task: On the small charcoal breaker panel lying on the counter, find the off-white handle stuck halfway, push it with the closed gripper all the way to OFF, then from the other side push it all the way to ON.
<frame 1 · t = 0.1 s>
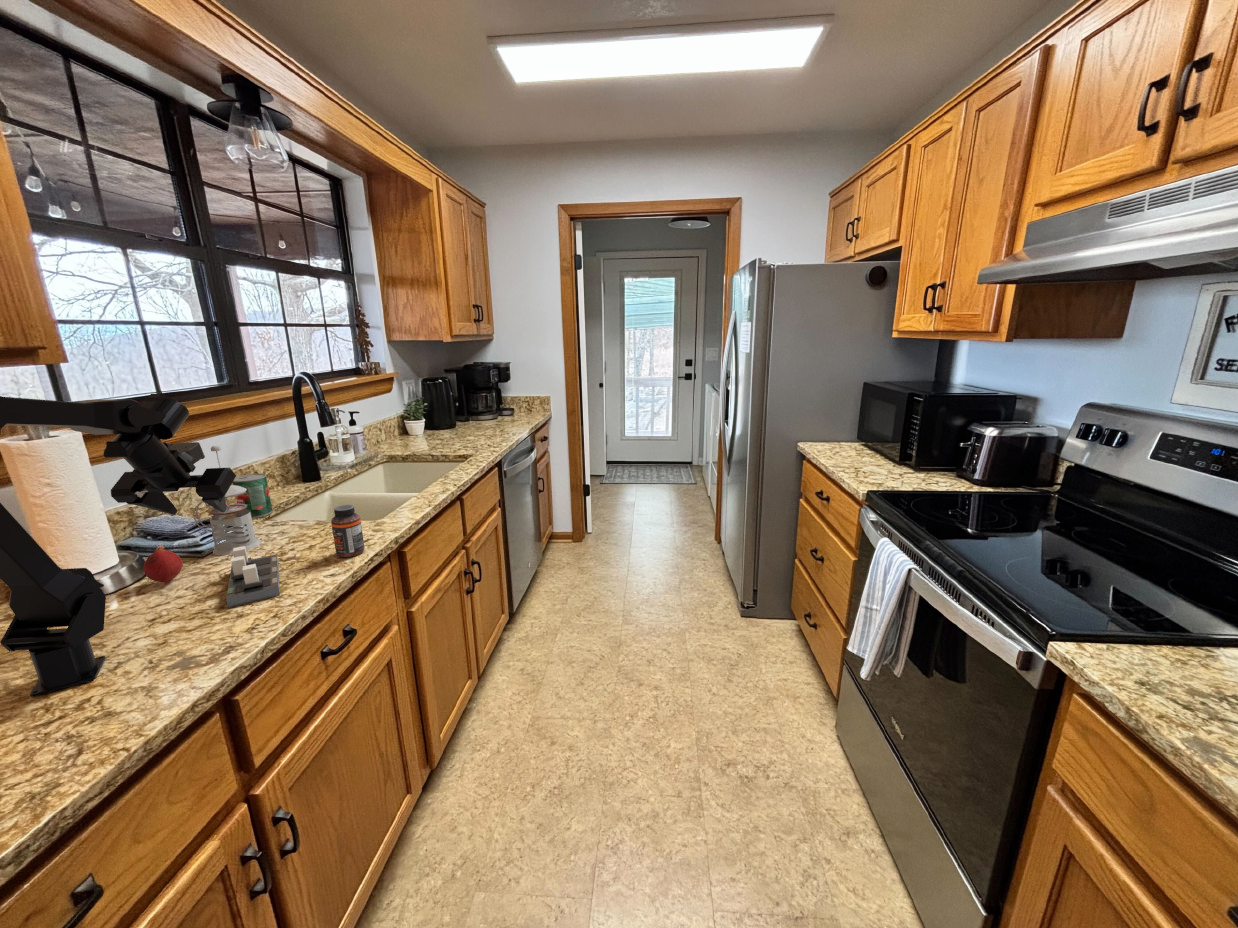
hand: (200, 511, 99), 15 cm above the worktop, tool tilted 30°, fingers open, 9 cm apart
breaker panel: (255, 583, 101), on the worktop
tripped breaker handle: (250, 575, 95), point 4 cm above the worktop, slide at 0.0 cm
canned tomato: (256, 514, 142), on the worktop
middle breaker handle: (239, 566, 99), point 4 cm above the worktop, slide at 2.0 cm
supplement bottle: (351, 553, 115), on the worktop
onion: (167, 583, 102), on the worktop
far breaker handle: (240, 556, 104), point 4 cm above the worktop, slide at 2.0 cm
french press: (232, 547, 119), on the worktop
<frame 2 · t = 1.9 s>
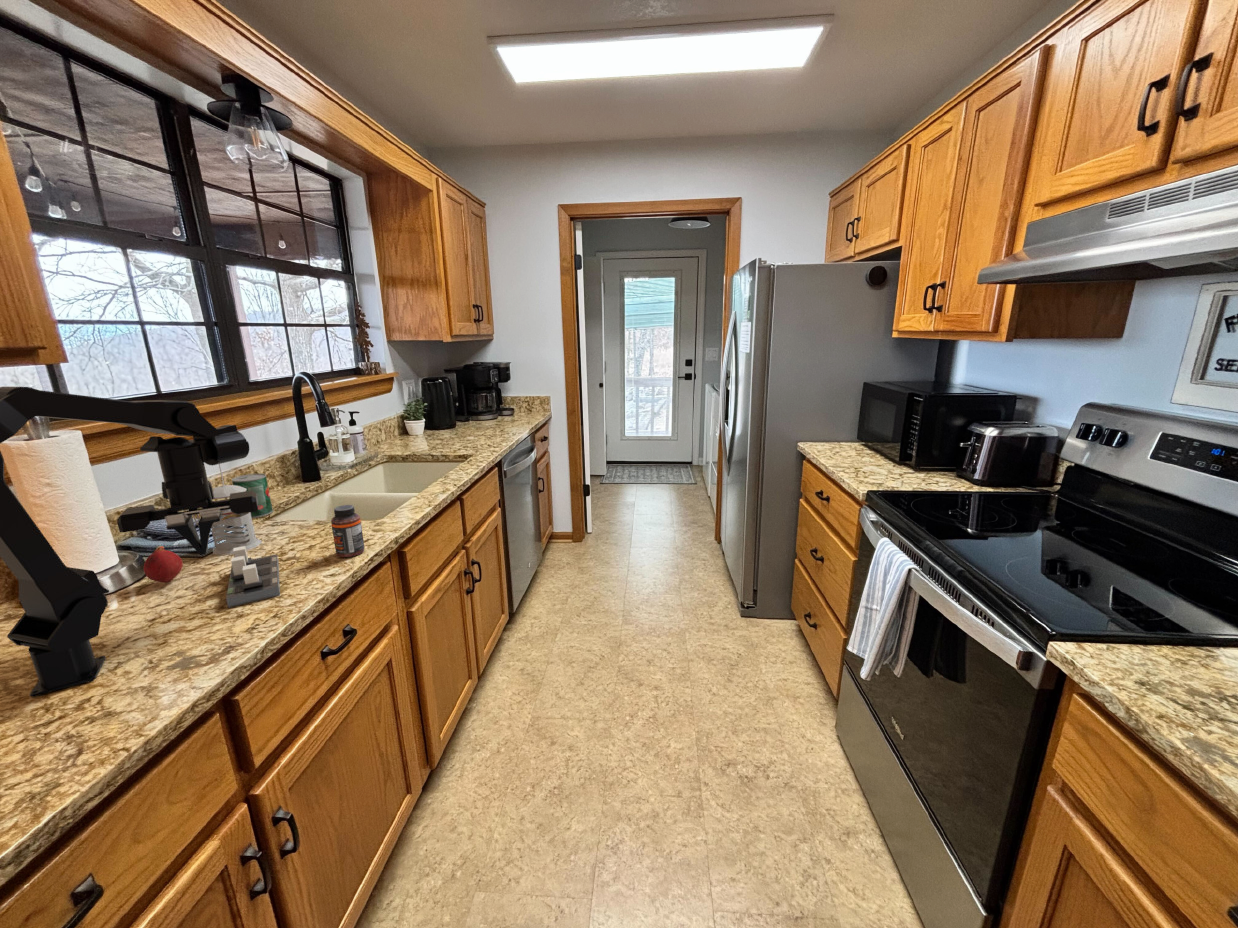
hand: (203, 554, 90), 10 cm above the worktop, tool pointing down, fingers closed
nothing on the worktop moved.
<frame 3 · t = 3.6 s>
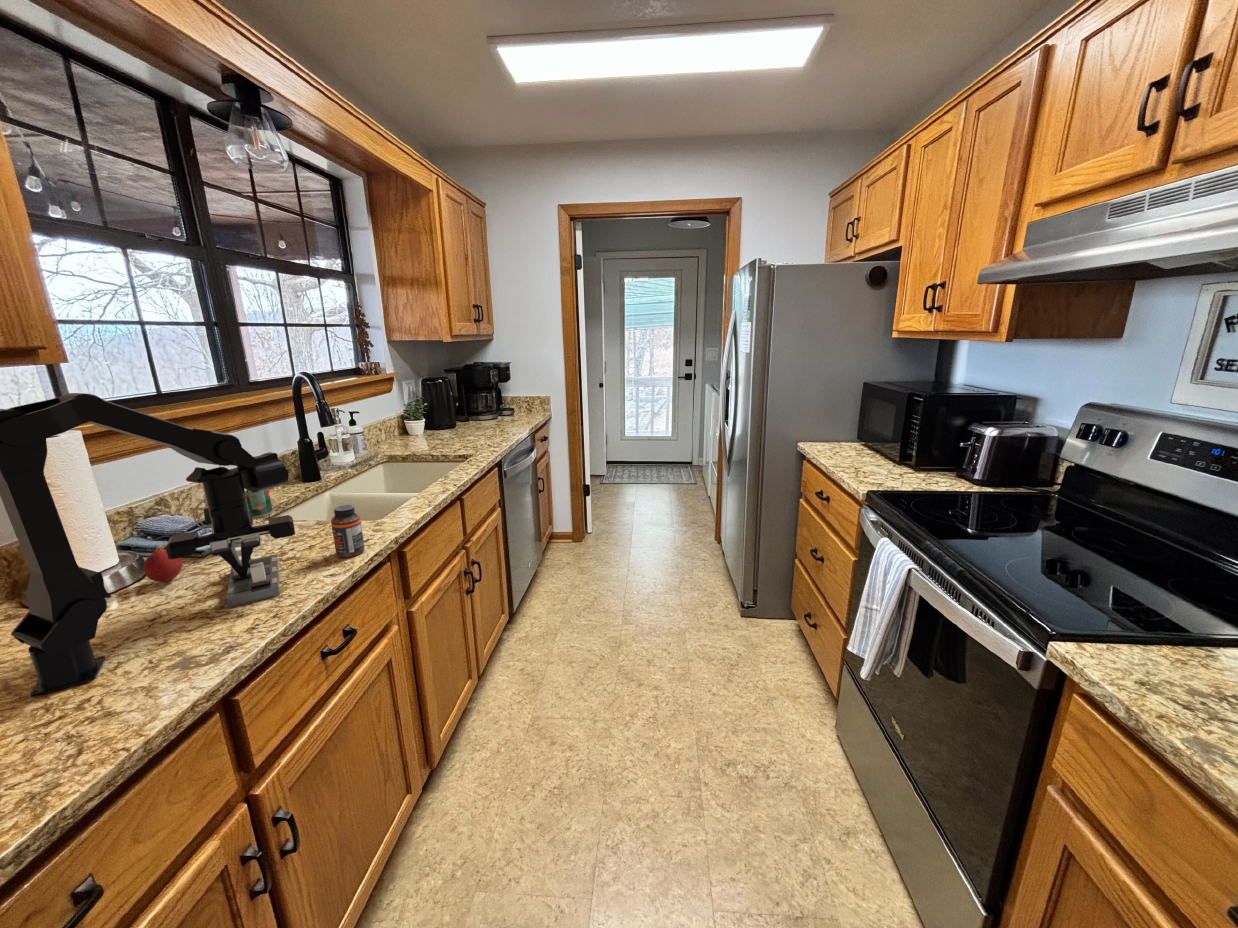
hand: (244, 576, 95), 4 cm above the worktop, tool pointing down, fingers closed
tripped breaker handle: (258, 573, 96), point 4 cm above the worktop, slide at -1.2 cm, touching gripper
everything else where it was.
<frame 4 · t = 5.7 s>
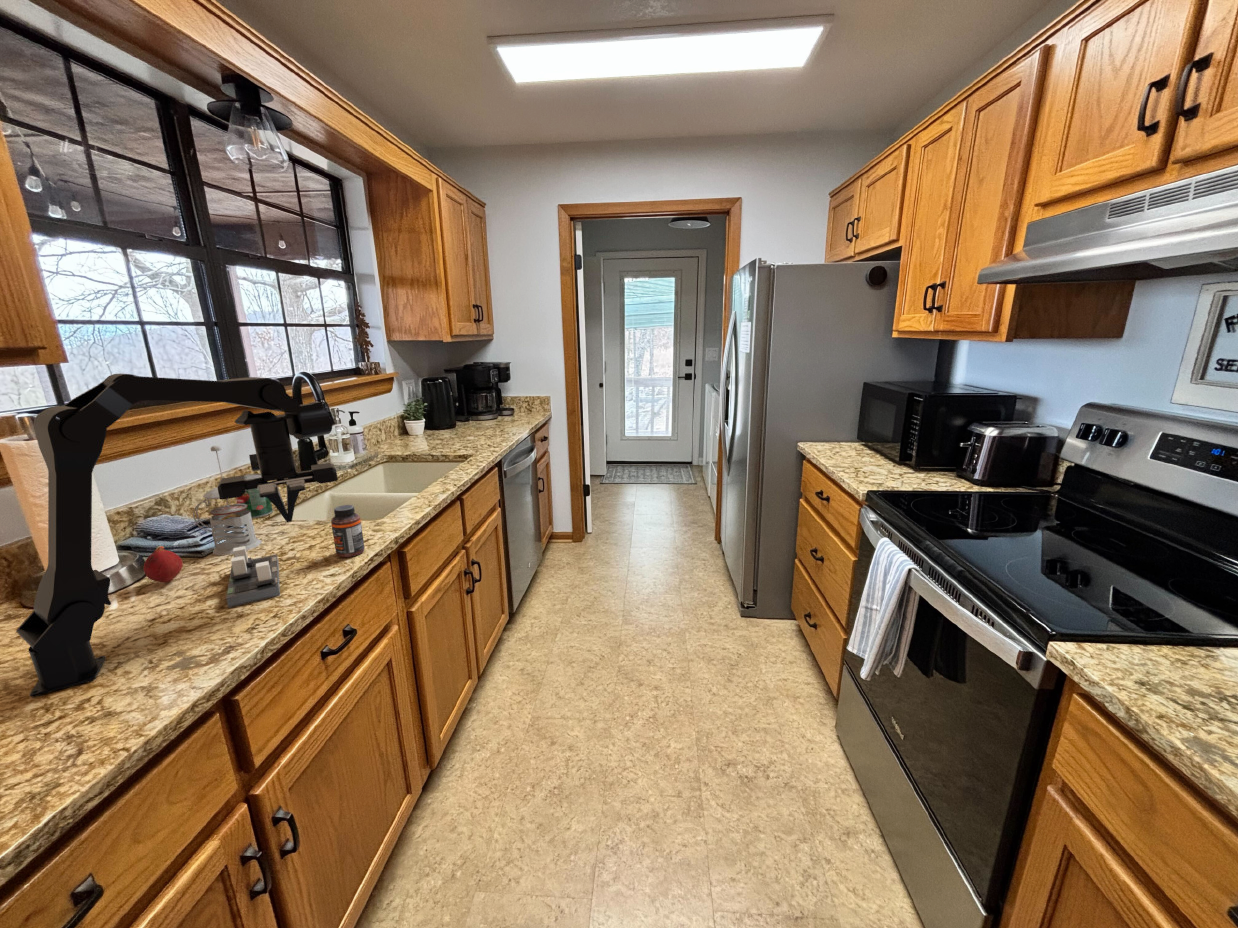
hand: (289, 521, 97), 13 cm above the worktop, tool pointing down, fingers closed
tripped breaker handle: (263, 572, 96), point 4 cm above the worktop, slide at -2.1 cm
everything else where it was.
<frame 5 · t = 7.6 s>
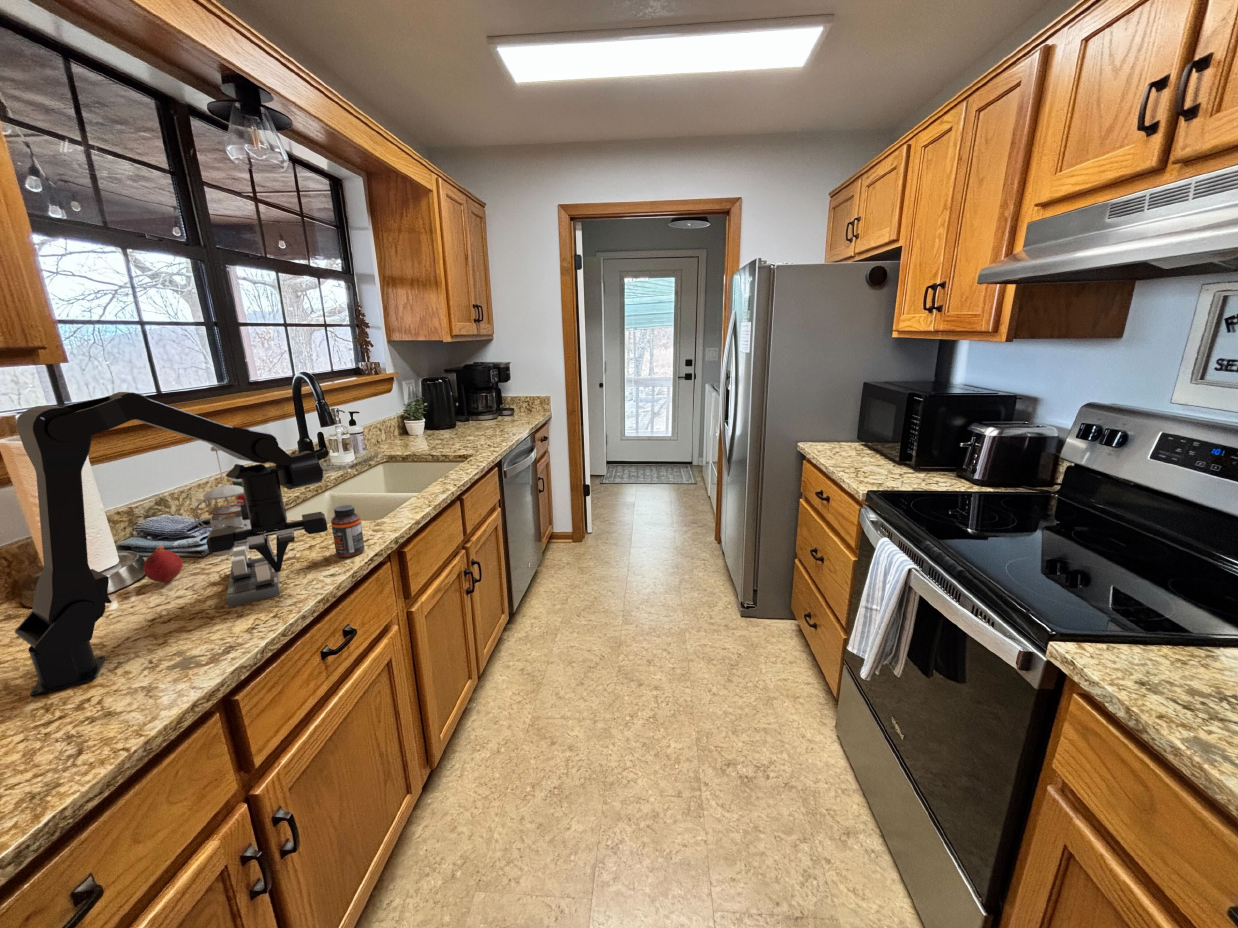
hand: (278, 571, 98), 4 cm above the worktop, tool pointing down, fingers closed
tripped breaker handle: (262, 572, 96), point 4 cm above the worktop, slide at -1.9 cm, touching gripper
everything else where it was.
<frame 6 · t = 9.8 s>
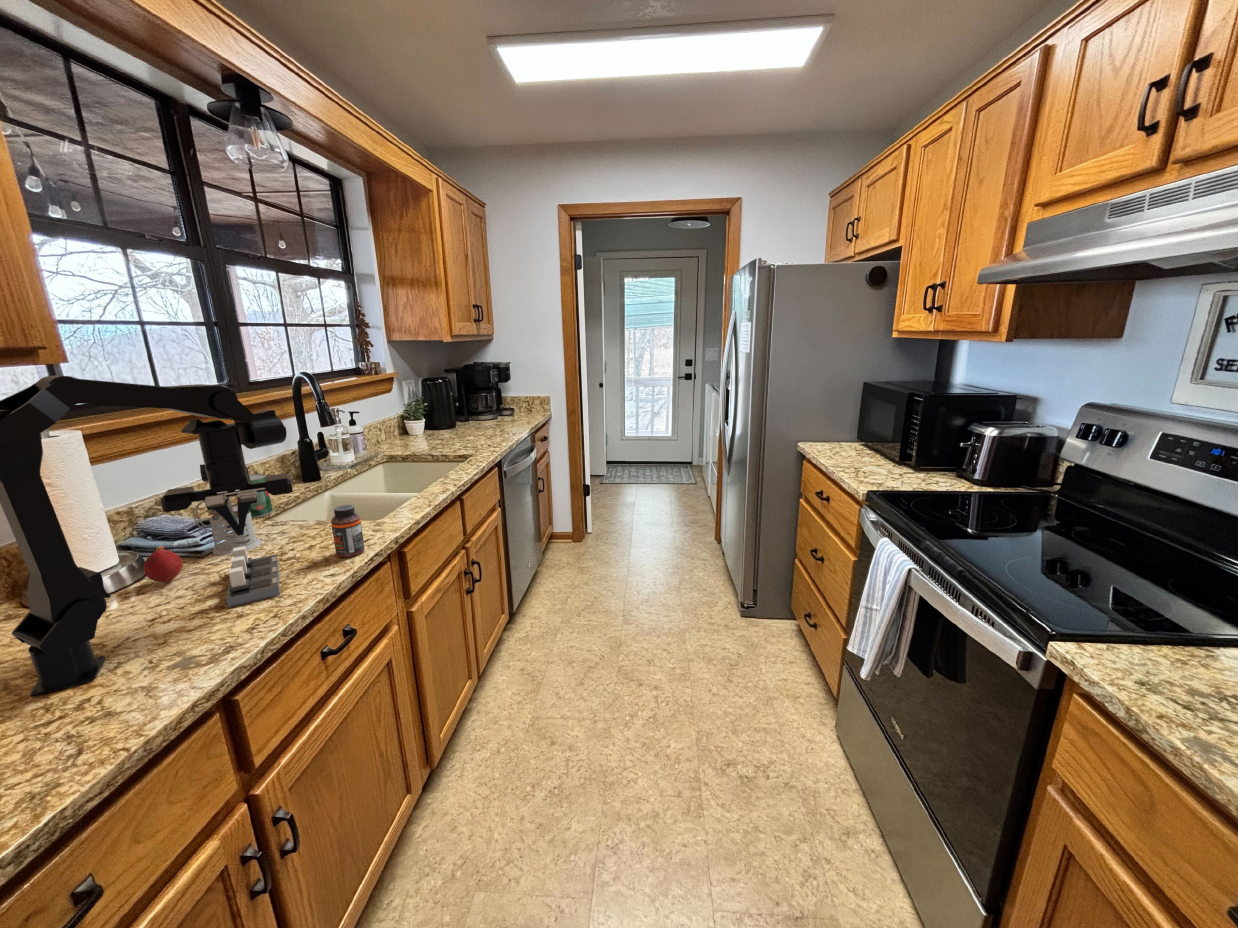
hand: (240, 534, 93), 13 cm above the worktop, tool pointing down, fingers closed
tripped breaker handle: (237, 578, 94), point 4 cm above the worktop, slide at 2.1 cm
everything else where it was.
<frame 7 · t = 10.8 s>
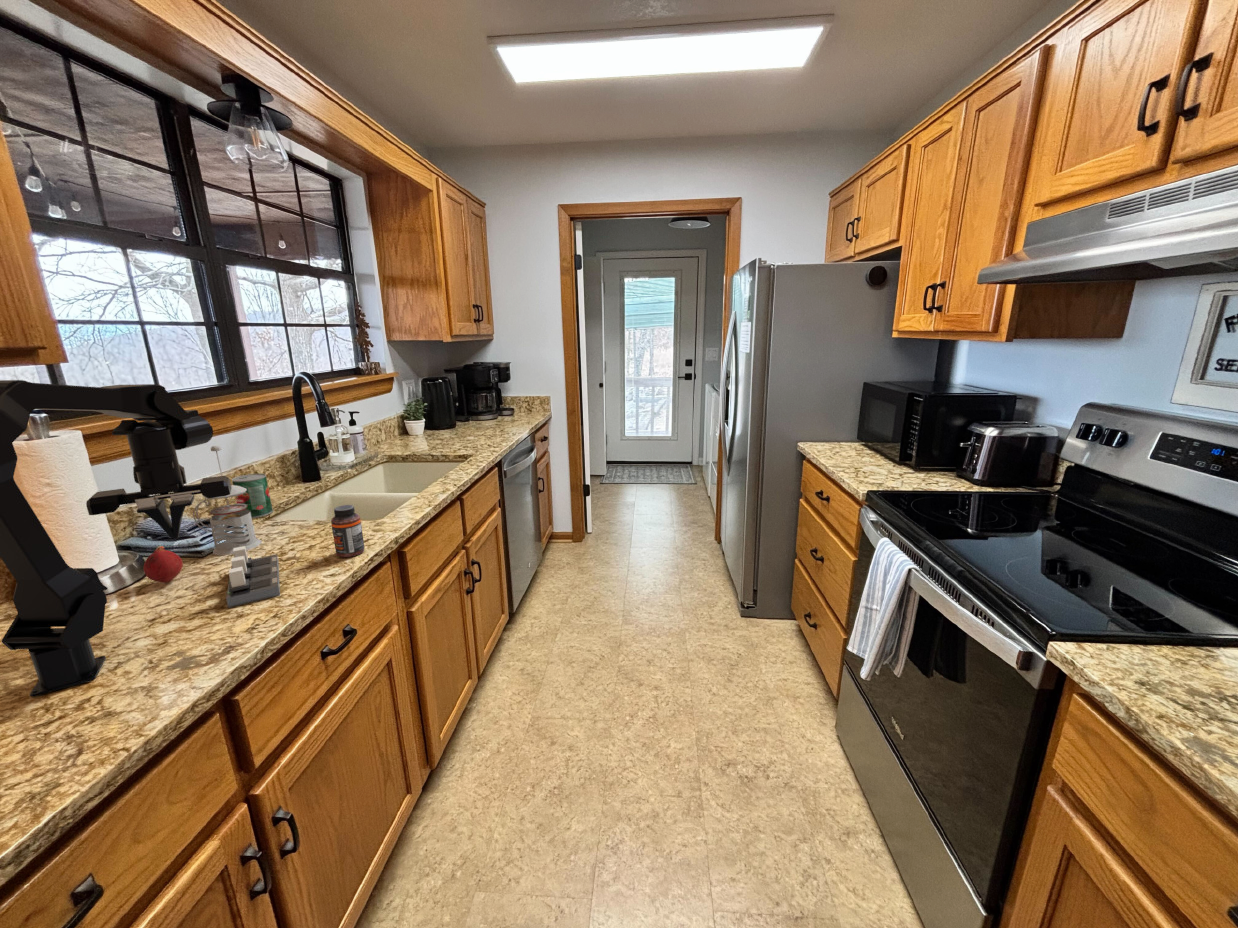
hand: (175, 538, 91), 13 cm above the worktop, tool pointing down, fingers closed
nothing on the worktop moved.
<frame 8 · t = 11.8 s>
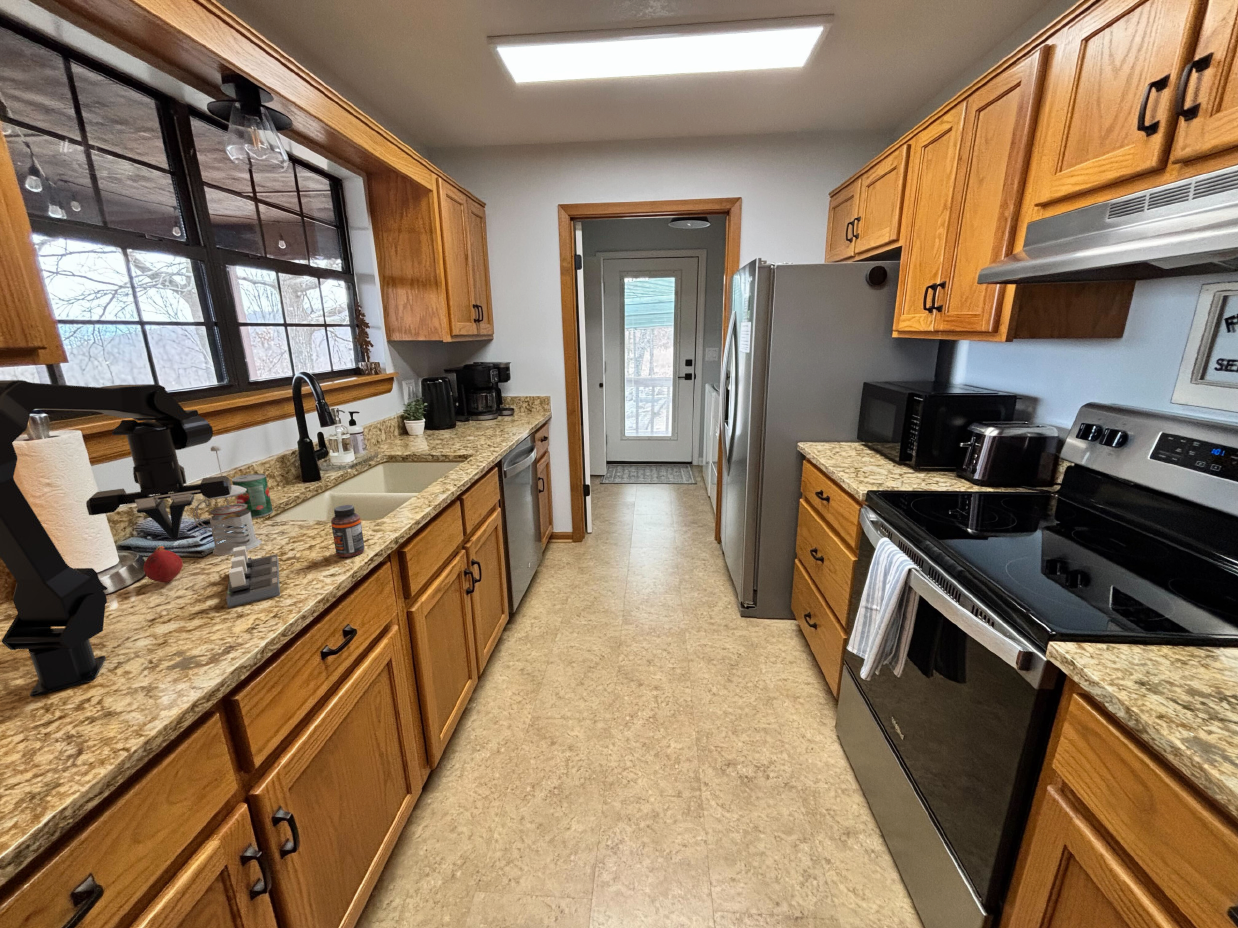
hand: (175, 538, 91), 13 cm above the worktop, tool pointing down, fingers closed
nothing on the worktop moved.
at the end: tripped breaker handle slide at 2.1 cm; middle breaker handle slide at 2.0 cm; far breaker handle slide at 2.0 cm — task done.
